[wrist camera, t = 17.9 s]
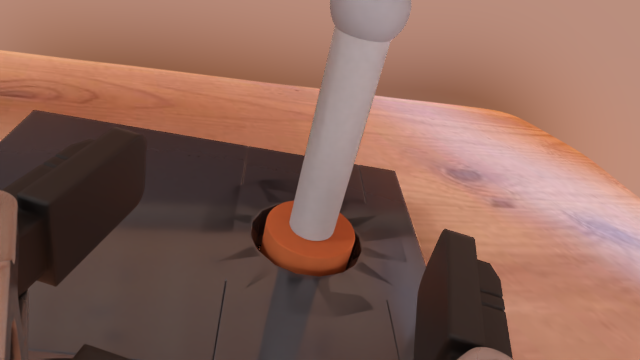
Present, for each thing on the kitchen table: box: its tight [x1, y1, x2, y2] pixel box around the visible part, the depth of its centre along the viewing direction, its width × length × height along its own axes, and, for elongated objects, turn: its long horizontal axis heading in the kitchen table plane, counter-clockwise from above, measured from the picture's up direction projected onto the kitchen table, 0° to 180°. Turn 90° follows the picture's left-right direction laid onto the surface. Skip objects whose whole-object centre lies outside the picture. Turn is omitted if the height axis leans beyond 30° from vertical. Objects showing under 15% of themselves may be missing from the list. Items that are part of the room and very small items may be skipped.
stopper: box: [260, 0, 411, 276], centre depth 22 cm, size 4×4×15 cm
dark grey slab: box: [0, 110, 426, 360], centre depth 24 cm, size 22×16×2 cm
